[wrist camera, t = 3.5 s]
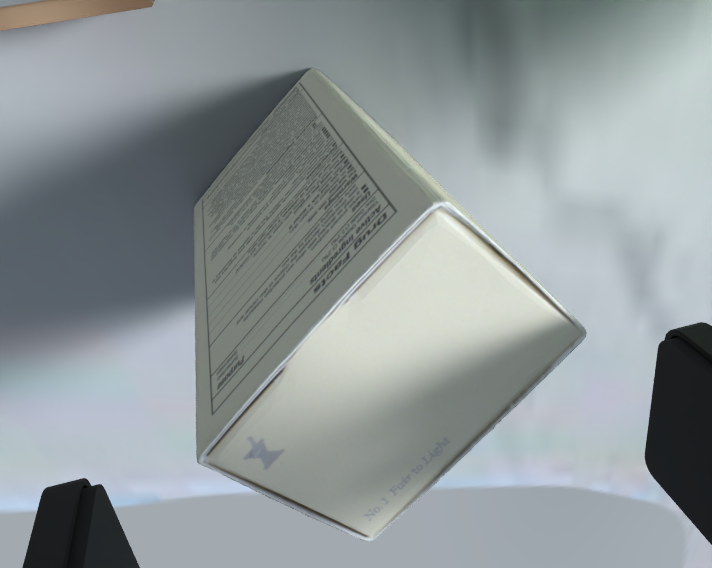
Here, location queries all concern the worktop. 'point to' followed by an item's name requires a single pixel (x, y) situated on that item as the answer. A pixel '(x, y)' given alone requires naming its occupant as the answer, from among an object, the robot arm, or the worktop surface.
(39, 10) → the plinth
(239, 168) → the skincare box
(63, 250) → the worktop surface
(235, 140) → the worktop surface
